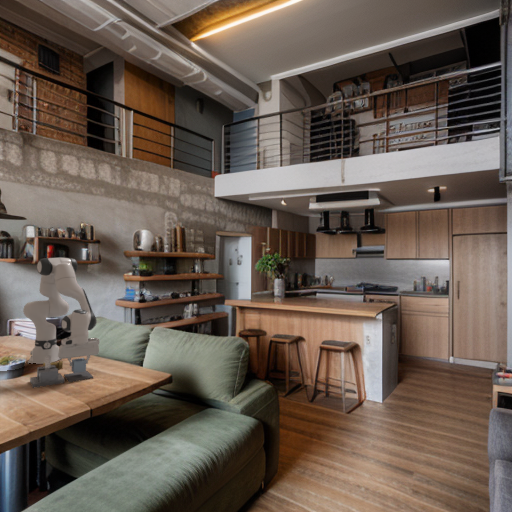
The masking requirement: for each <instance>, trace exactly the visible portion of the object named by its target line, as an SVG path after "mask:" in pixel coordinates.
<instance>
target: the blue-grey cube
mask: <svg viewBox="0 0 512 512" xmlns="http://www.w3.org/2000/svg"><path fill="white" fill-rule="evenodd" d="M71 362H73V366H71V373H78V372H84V371H87V364H86V358H84V357H81V358H73V359H71Z"/></svg>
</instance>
